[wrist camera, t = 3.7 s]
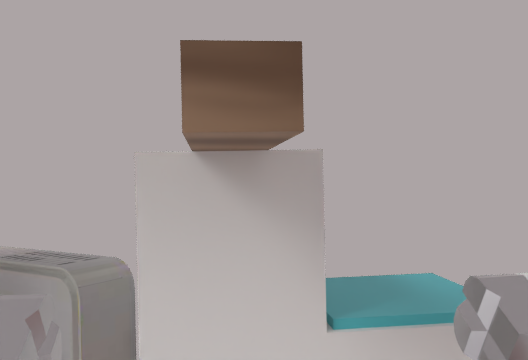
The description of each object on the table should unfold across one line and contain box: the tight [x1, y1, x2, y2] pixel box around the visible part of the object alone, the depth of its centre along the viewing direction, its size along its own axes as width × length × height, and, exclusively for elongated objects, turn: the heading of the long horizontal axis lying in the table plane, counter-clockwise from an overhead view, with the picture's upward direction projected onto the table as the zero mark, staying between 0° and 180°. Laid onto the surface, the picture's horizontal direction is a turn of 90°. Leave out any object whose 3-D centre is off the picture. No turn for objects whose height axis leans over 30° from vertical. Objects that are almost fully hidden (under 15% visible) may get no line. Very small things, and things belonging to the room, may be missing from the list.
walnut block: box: [180, 40, 304, 151], centre depth 29 cm, size 26×4×3 cm, turn 7°
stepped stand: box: [135, 149, 472, 360], centre depth 33 cm, size 12×22×26 cm, turn 96°
